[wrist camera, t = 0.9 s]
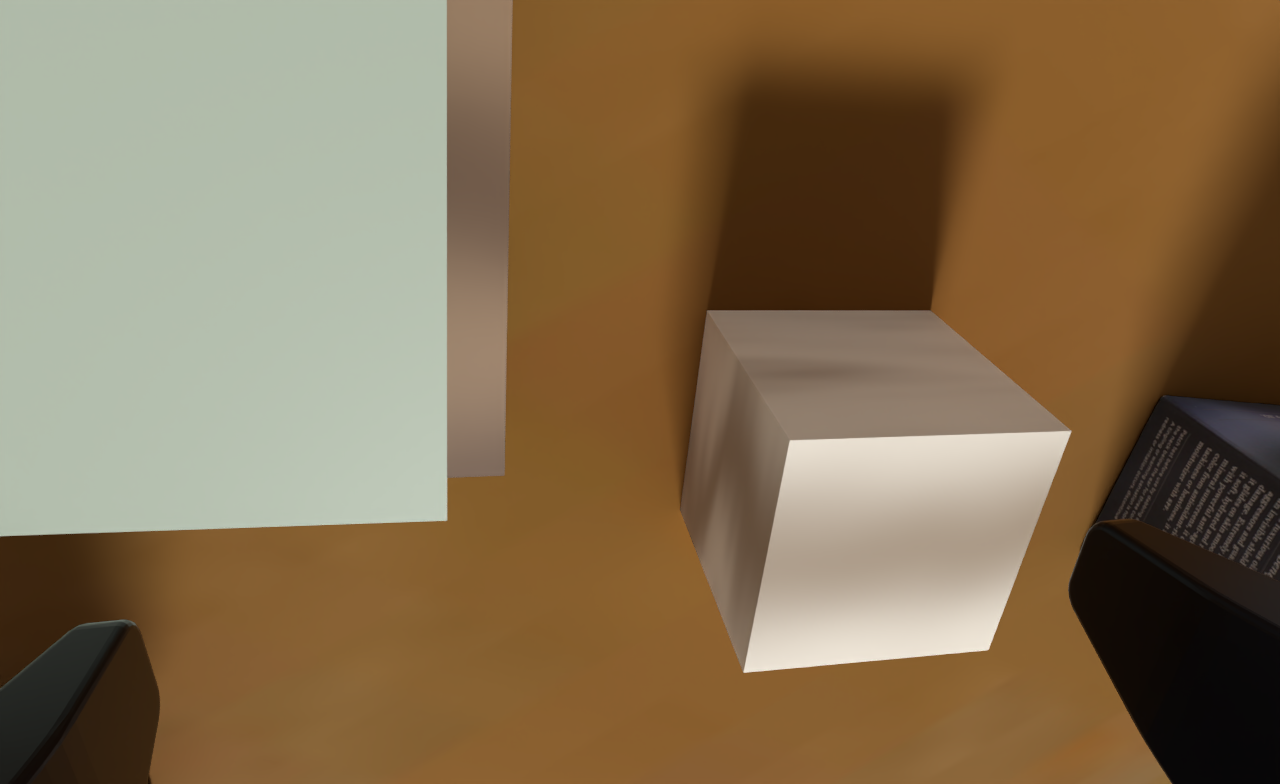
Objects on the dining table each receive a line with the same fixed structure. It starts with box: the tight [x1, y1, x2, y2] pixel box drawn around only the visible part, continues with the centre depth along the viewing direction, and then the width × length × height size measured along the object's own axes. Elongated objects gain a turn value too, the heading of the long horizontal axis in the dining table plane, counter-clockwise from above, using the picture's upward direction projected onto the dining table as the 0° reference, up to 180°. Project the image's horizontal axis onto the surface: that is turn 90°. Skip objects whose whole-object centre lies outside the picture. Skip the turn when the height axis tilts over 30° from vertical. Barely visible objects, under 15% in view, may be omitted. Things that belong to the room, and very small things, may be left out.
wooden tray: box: [447, 0, 513, 478], centre depth 17 cm, size 12×12×3 cm
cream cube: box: [680, 310, 1071, 673], centre depth 21 cm, size 6×6×6 cm
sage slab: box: [0, 0, 447, 536], centre depth 14 cm, size 10×10×3 cm
